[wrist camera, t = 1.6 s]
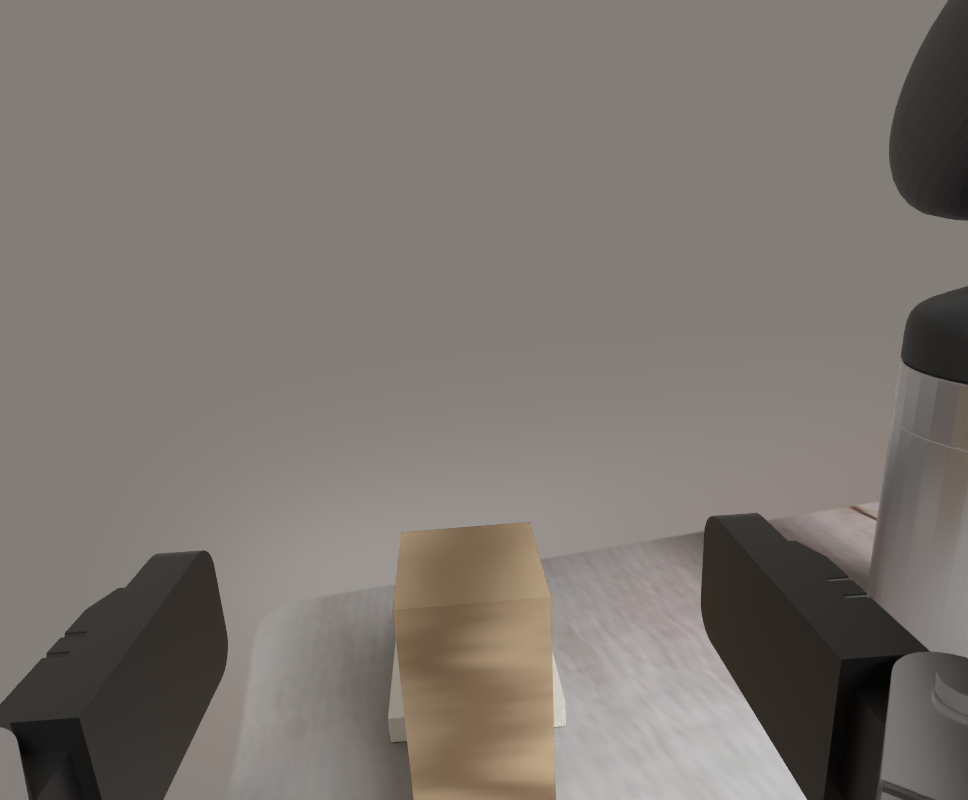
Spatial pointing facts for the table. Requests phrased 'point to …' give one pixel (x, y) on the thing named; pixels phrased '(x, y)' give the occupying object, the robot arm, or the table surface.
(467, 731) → the oak block
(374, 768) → the table surface
